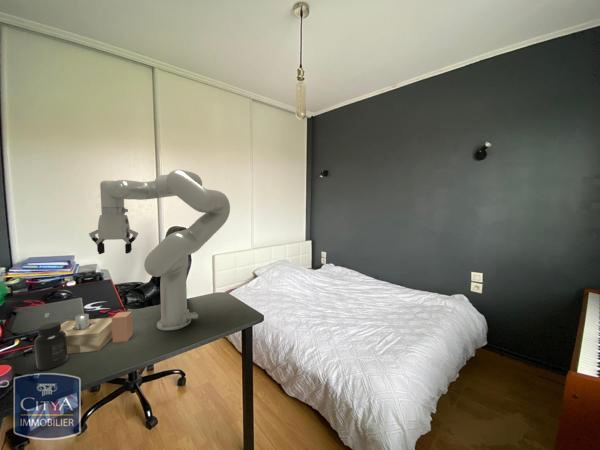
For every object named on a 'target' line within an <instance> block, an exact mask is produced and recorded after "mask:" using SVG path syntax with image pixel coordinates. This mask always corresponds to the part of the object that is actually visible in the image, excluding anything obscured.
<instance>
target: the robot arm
mask: <svg viewBox="0 0 600 450" xmlns="http://www.w3.org/2000/svg"><path fill="white" fill-rule="evenodd" d="M99 185H100V186H99V187H100V206H101V207H100V209H101V210H100V211H101V214H100V215H99V218H98V224H97V229H95V230H94V231H91V232H90V233H88V235H89V237H90V238H91V241H92V242H94V243H95V245H96V249H97V250H96V251H97V252H98V253H97V254H98V255H103V254H105V252H106V251H105V250H106V249H105V243H104V242H105V241H107V240H112V241H113V240H117V241H118V240H123V242H125V244H124V248H125V252H124V253H125V254H131V252H132V250H133V248H132V244H133V242H134V241H135V240H136V239H137V237H138V235H139V232H137V231H135V230H133V229H131V228H130V222H129V218H128V215H127V214H126V213H128V212H129V209H128V208H126V207H125V200H136V201H138V200H140V201H142V200H144V201H145V200H154V199H160V198H161V199H162V198H168V197H178V199H180V200H182V201H183V202H184V203H185V204H187V205H188V206H189V207H190V208H192V209H193V210H195V211H196V212H198V213H204V214H202V215H201V216H199V217H198V218H197V219H196V220H195V221H194V223H192V224H191V225H190V226H189V227H188V228H186V229H183V230H177V231H174V232H172V233H170V234H168V235H167V236H165V237H164V238H163V239H162V240H161V242H160V243H158V244H157V245H156V246H155V247H154V248H153V249H152V250H151V251H150V252H149V253H148V255H147V256H146V258H145V260H144V262H143V263H144V264H143V266H144V270H145V272H146V273H147V274H148V275H149V276H152V277H155V278H158V277H160V280H159V281H160V284H159V285H160V286H159V290H160V291H159V293H160V320H158V321H157V322H156V328H157V329H158V330H160V331H168V332H169V331H176V330H179V329H182V328H184V327H186V326H188V325H190V324H191V322H192V320H197V319H199V313H197V312H196V311H194V312H191V311H190V309H189V308H188V298H187V297H188V295H187V294H188V293H187V291H188V290H187V288H188V287H187V274H188V265H189V255H192V254H195V253H196V252H198V251H199V250H200V249H201V248H202V247H203V246H204V245H205V244H206V243H207V242H208V241H209V240H210V239H211V238H212V237H213V236H214V235H215V234H216V233H217V232H218V231H219V230H220V229H221V228H222V227H223V226H224V225H225V223H226V222H227V221H228V220H229V219H228V218H229V216H230V212H231V205H230V201H229V198H228V197H227V195H226V194H225V193H223V192H221V191H219V190H215V189H208V188H205V187H204V186H203V180H202V179H201V176H199V175H198V174H196V173H195V172H191V171H188V170H184V169H174V170H172V171H170V172H169V173H168V174H159V175H157V176H156V177H155V179H154V180H151V181H137V180H127V179H118V180H102V181H100V184H99ZM131 235H132V237H131Z"/></svg>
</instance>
